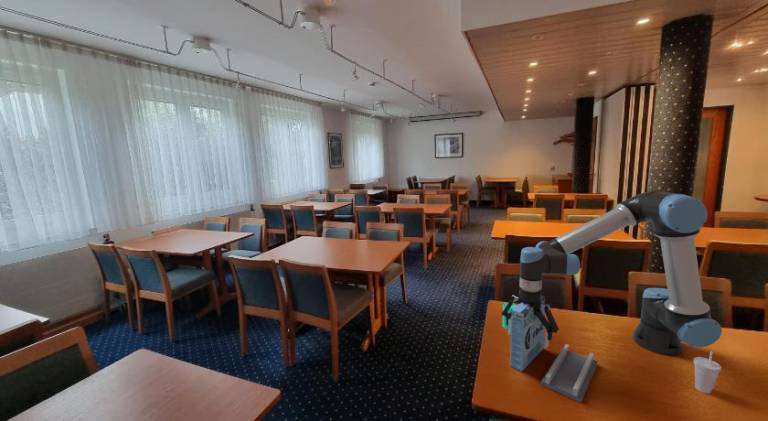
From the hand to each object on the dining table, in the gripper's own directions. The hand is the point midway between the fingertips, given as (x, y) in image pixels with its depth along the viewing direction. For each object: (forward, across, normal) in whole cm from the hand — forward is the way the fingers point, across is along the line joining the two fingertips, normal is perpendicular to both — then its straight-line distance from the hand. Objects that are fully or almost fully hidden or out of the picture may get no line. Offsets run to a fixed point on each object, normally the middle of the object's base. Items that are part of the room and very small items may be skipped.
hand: (527, 339), depth 122 cm
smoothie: (+8, +49, +20) cm, 54 cm away
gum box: (+8, 0, 0) cm, 8 cm away
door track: (+7, +15, 0) cm, 17 cm away
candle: (+8, -14, +17) cm, 23 cm away
